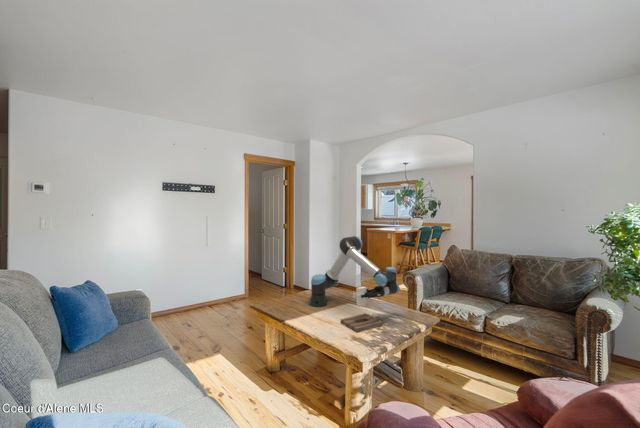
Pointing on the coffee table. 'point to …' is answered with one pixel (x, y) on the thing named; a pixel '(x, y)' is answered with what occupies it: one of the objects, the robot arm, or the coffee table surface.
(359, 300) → the tall cream pillar
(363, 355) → the coffee table surface
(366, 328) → the brown slotted base plate
